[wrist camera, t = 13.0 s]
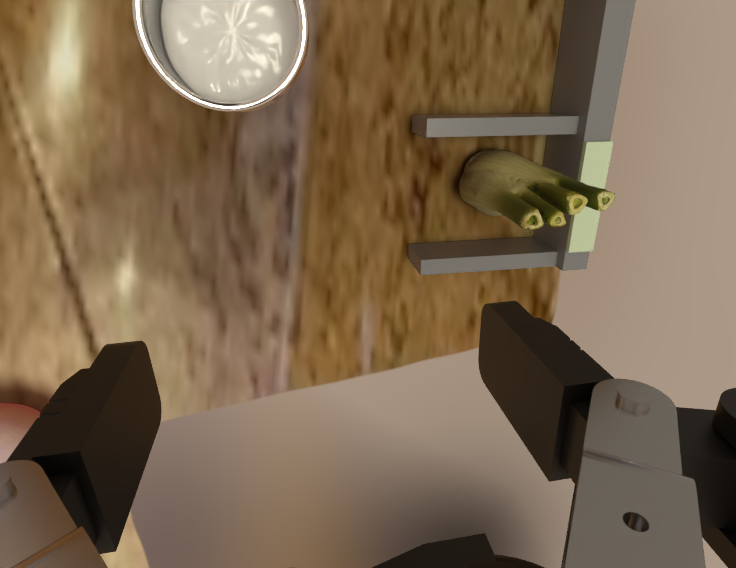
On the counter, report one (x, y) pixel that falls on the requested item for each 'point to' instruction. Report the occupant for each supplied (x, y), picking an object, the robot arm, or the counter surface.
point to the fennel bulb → (526, 190)
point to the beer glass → (225, 48)
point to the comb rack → (549, 143)
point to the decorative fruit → (14, 426)
